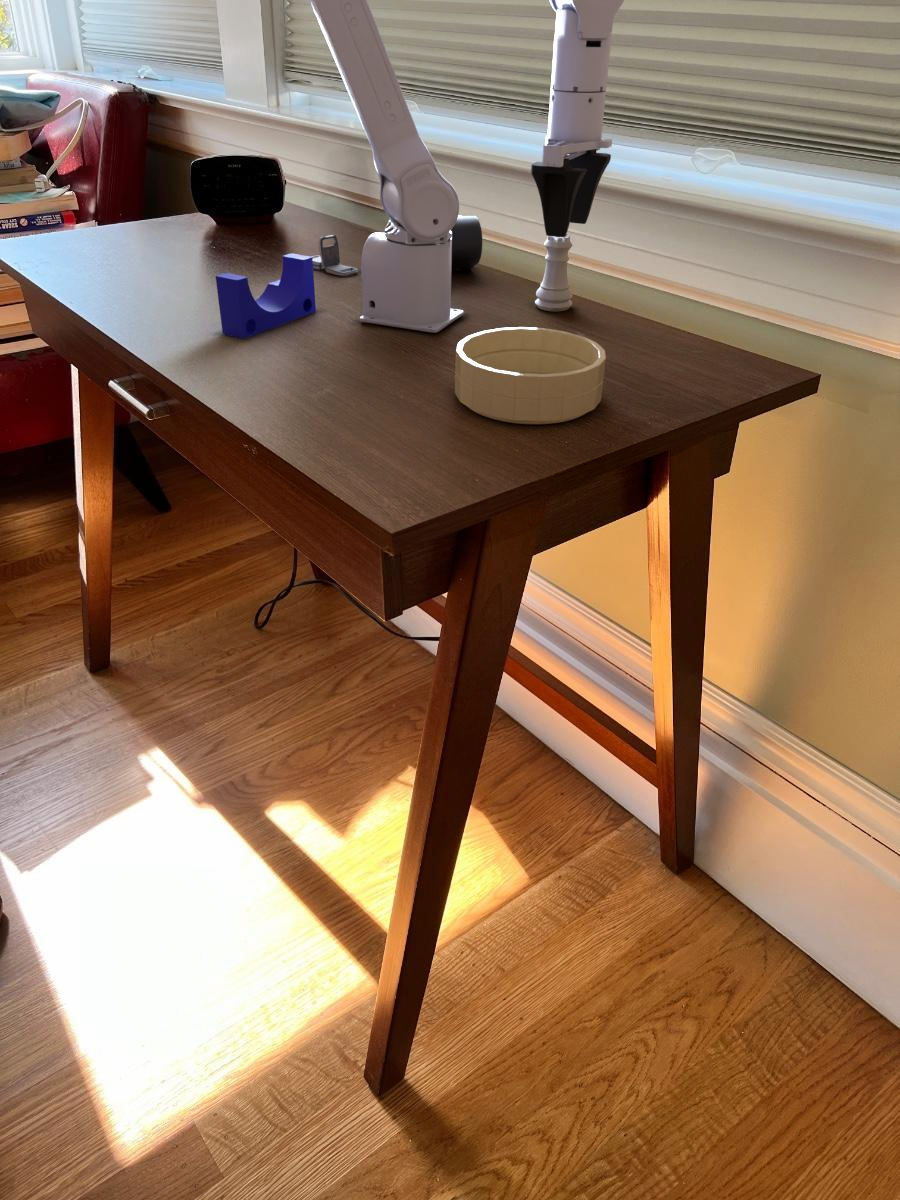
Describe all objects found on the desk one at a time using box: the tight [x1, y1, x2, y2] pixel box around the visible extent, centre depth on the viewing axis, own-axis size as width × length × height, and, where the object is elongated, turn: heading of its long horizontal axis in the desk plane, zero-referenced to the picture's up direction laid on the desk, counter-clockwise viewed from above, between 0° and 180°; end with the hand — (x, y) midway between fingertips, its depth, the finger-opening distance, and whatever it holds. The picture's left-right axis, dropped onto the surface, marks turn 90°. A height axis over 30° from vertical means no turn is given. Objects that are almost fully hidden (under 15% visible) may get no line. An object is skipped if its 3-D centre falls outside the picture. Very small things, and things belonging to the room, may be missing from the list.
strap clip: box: [311, 234, 359, 276], centre depth 119 cm, size 8×3×4 cm, turn 48°
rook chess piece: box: [534, 234, 573, 312], centre depth 105 cm, size 4×4×8 cm
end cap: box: [451, 214, 483, 272], centre depth 118 cm, size 10×7×7 cm
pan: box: [454, 326, 607, 425], centre depth 82 cm, size 13×13×4 cm
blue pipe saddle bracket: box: [215, 252, 317, 340], centre depth 99 cm, size 12×4×6 cm, turn 148°
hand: (566, 229), depth 101 cm, fingers open, 7 cm apart
